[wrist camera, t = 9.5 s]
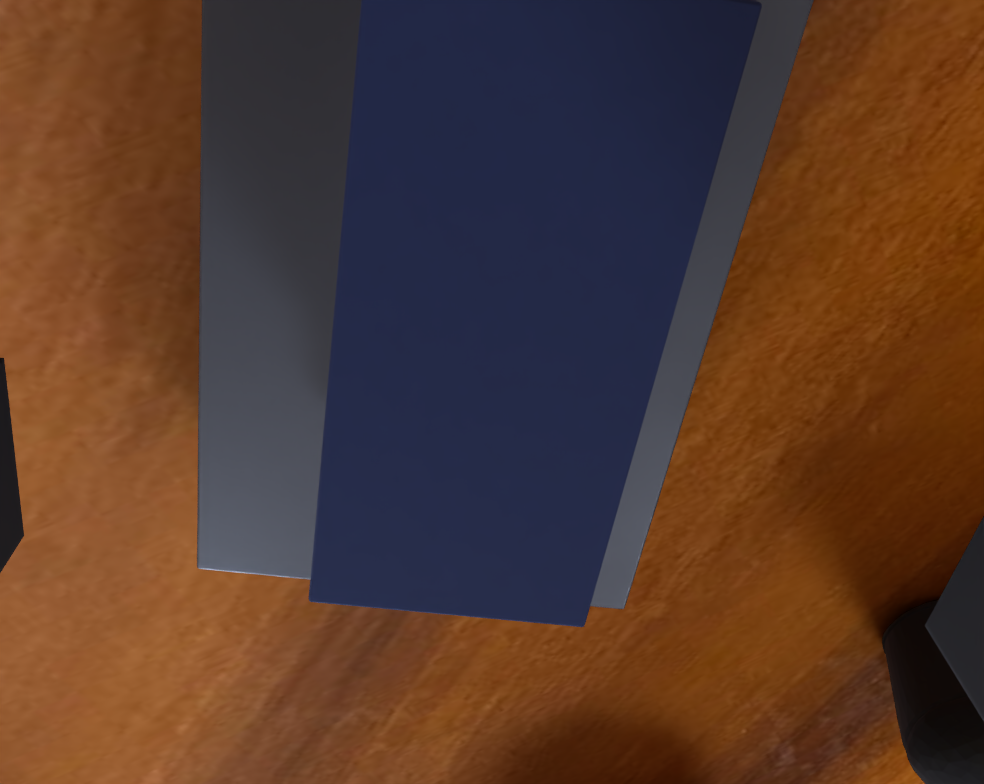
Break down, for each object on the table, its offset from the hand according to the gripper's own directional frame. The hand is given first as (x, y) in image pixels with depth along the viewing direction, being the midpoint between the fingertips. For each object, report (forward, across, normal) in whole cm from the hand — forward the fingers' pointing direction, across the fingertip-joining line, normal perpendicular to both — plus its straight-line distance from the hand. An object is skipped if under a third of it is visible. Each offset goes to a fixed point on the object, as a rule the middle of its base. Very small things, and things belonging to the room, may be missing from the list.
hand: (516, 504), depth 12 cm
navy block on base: (+13, 0, 0) cm, 13 cm away
